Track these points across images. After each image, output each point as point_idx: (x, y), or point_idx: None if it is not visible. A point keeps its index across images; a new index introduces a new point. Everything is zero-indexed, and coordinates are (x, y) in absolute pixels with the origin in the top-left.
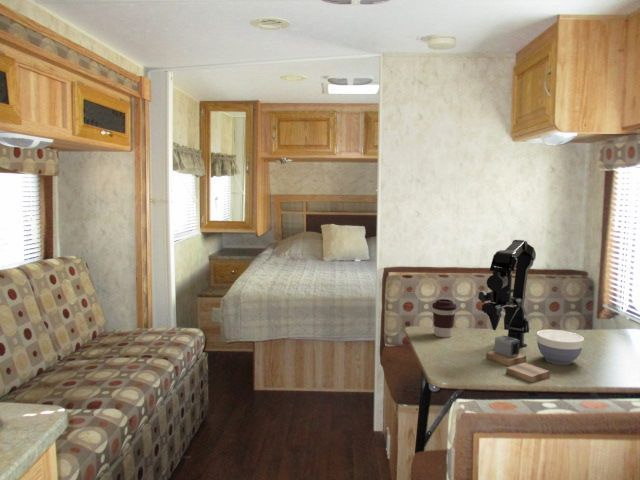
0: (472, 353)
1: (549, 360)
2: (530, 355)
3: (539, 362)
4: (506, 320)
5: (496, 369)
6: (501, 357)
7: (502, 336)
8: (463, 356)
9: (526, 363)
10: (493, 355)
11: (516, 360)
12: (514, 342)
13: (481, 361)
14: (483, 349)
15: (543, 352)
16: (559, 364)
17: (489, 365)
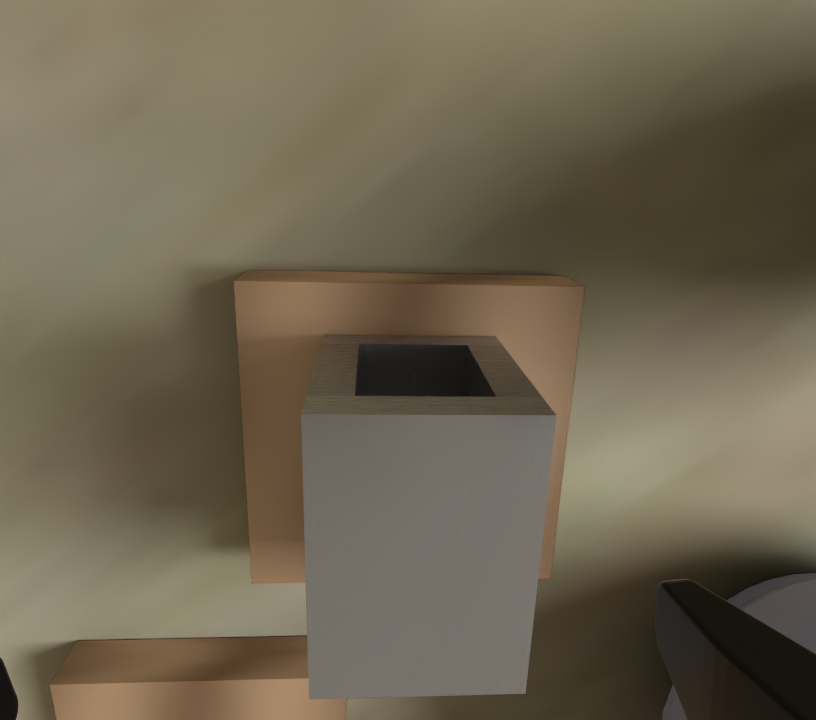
0: (233, 39)
1: None
2: (737, 467)
3: (604, 618)
4: (729, 687)
5: (72, 541)
6: (262, 481)
7: (468, 449)
8: (24, 51)
9: (338, 701)
10: (241, 384)
11: None
12: (394, 682)
13: (107, 311)
14: (505, 12)
15: (679, 709)
16: None
17: (93, 438)
